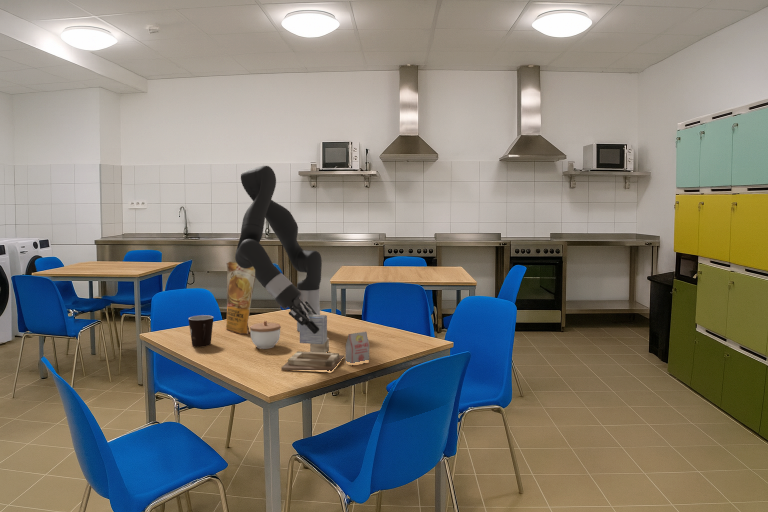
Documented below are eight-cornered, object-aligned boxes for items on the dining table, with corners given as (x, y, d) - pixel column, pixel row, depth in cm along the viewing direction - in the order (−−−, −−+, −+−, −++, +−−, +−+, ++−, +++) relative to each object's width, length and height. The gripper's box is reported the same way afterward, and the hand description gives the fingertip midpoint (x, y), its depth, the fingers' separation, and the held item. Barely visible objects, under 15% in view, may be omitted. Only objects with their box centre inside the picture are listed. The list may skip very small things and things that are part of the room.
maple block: (315, 351, 173) (315, 337, 173) (328, 352, 172) (329, 337, 172) (310, 354, 169) (310, 340, 168) (324, 355, 167) (324, 341, 167)
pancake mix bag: (234, 325, 212) (233, 260, 209) (259, 333, 199) (258, 264, 196) (220, 328, 207) (219, 261, 204) (244, 336, 194) (243, 265, 191)
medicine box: (327, 341, 158) (327, 314, 158) (323, 345, 154) (323, 317, 153) (303, 340, 160) (304, 313, 159) (299, 343, 155) (299, 316, 155)
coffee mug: (193, 341, 184) (192, 315, 183) (216, 341, 185) (216, 315, 184) (183, 350, 172) (182, 322, 172) (208, 349, 173) (207, 321, 172)
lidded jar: (271, 351, 171) (270, 325, 171) (244, 349, 175) (244, 323, 174) (285, 344, 182) (285, 319, 181) (260, 341, 185) (260, 317, 184)
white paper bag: (345, 363, 159) (345, 333, 158) (362, 360, 163) (363, 330, 162) (351, 366, 156) (351, 335, 155) (369, 362, 160) (369, 332, 159)
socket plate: (297, 356, 167) (297, 348, 166) (344, 358, 164) (344, 351, 164) (281, 370, 151) (281, 362, 151) (332, 373, 148) (332, 365, 148)
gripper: (283, 286, 149) (321, 327, 149) (298, 280, 164) (333, 317, 163) (266, 302, 151) (304, 343, 150) (282, 295, 165) (317, 332, 164)
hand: (319, 329), depth 156 cm, fingers closed on medicine box, 4 cm apart
